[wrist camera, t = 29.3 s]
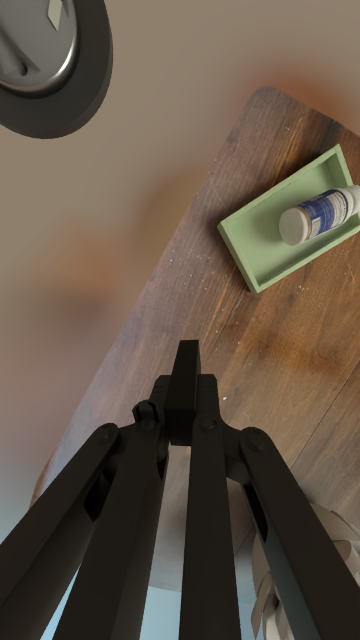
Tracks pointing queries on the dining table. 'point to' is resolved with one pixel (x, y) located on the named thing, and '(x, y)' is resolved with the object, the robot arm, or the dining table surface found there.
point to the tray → (264, 215)
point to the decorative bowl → (278, 636)
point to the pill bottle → (319, 214)
